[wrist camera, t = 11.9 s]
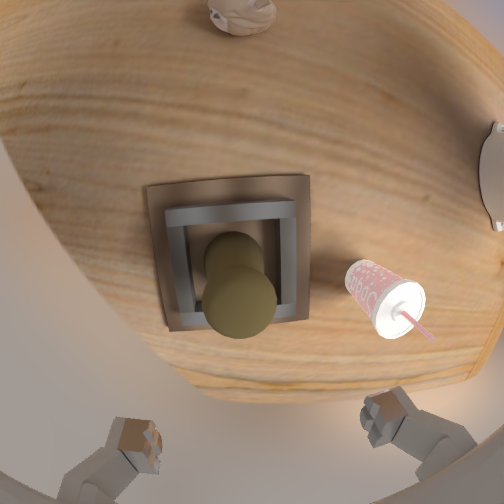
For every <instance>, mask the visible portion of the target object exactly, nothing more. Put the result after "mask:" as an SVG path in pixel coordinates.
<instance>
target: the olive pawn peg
mask: <svg viewBox="0 0 504 504" xmlns="http://www.w3.org/2000/svg"><path fill="white" fill-rule="evenodd" d="M204 268H205V272H206V277H207V281H208V283H207V284H206V286H205V289H204V292H203V295H202V310H203V313H204V315H205V318H206V320H207V322H208V323H209V325H210V326H211V327H212V328H213V329H214V330H215V331H217V332H219V333H220V334H222V335H224V336H227V337H230V338H234V339H245V338H248V337H252V336H255V335H257V334H258V333H260V332H262V331H263V330H264V329H265V328H266V327H267V326H268V325H269V324H270V323H271V322H272V320H273V317H274V315H275V313H276V305H277V297H276V293H275V289H274V287H273V285H272V283H271V282H270V281H269V279H268V278H267V276H265V275H264V261H263V254H262V250H261V247H260V246H259V244H258V243H257V241H256V240H255V239H253V238H252V237H251V236H249V235H248V234H245V233H242V232H235V231H229V232H226V233H222V234H220V235H218V236H217V237H215V238H214V239H212V241H211V242H210V243H209V245H208V246H207V248H206V251H205V254H204Z"/></svg>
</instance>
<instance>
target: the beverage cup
mask: <svg viewBox="0 0 504 504" xmlns="http://www.w3.org/2000/svg"><path fill="white" fill-rule="evenodd" d="M345 286H346V288H347V290H348V291H349V293H350V294H351V295H352V296H353V298H354V299H355V300H356V301H357V303H358V304H359V305H360V306H361V308H362V309H363V310H364V311H365V313H366V314H367V315H368V317H369V318H370V319H371V320H372V323H373V325H374V327H375V330H376V331H377V332H378V334H379V335H381V336H383V337H384V338H386V339H395V338H397V337H400V336H402V335H404V334H406V333H407V332H408V331H409V330H411V329H412V328H413V327H414V326H415V327H416V328H417V329H418V330H419V331H420V332H421V333H423V334H424V335H425V336H426V337H427V338H428V339H429V340H430V341H433V340H434V338H435V337H434V336H433V335H432V334H431V333H430V332H429V331H427V330H426V329H425V328H424V327H423V326H422V325H421V324H419V323H418V320H419V319H420V317H421V315H422V312H423V310H424V307H425V299H426V297H425V293H424V289H423V288H422V287H421V286H420V285H419V284H418V283H417V282H414V281H413V280H408V279H404V278H402V277H400V276H399V275H397V274H395V273H393V272H391V271H389V270H387V269H385V268H384V267H382V266H380V265H378V264H376V263H374V262H372V261H370V260H365V259H363V260H360V261H357V262H356V263H354V264H353V265H352V266H351V267H350V268H349V270H348V271H347V274H346V277H345Z"/></svg>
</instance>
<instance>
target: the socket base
mask: <svg viewBox="0 0 504 504" xmlns="http://www.w3.org/2000/svg"><path fill="white" fill-rule="evenodd" d="M146 189H147V200H148V209H149V218H150V226H151V234H152V241H153V248H154V254H155V261H156V267H157V273H158V278H159V284H160V289H161V294H162V299H163V304H164V309H165V314H166V319H167V323H168V328H169V332H173V331H193V330H209V329H213V328H212V327H211V326H210V325H209V323H208V322H207V320H206V318H205V315H204V313H203V310H202V295H203V292H204V289H205V286H206V284H207V283H208V281H207V277H206V272H205V268H204V254H205V251H206V248H207V246H208V245H209V243H210V242H211V241H212V239H214V238H215V237H217V236H218V235H220V234H222V233H226V232H229V231H235V232H242V233H245V234H248V235H249V236H251V237H252V238H253V239H255V240H256V241H257V243H258V244H259V246H260V247H261V250H262V254H263V261H264V275H265V276H267V278H268V279H269V281H270V282H271V283H272V285H273V287H274V289H275V293H276V297H277V305H276V313H275V315H274V317H273V320H272V322H271V323H270V324H274V323H283V322H291V321H298V320H306V319H309V298H310V259H311V208H310V175H293V176H264V177H245V178H229V179H216V180H204V181H193V182H184V183H174V184H166V185H157V186H150V187H146Z"/></svg>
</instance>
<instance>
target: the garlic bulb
mask: <svg viewBox="0 0 504 504" xmlns="http://www.w3.org/2000/svg"><path fill="white" fill-rule="evenodd" d="M207 6H208V8H209V9H210V18H211V20H212V21H213V23H214V24H215V25H216V26H217V27H218V28H219V29H221V30H222V31H225V32H228V33H230V34H232V35H237V36H247V35H250V34H259V33H262V32H264V31H265V30H267V29H268V28H269V27H270V26H271V25H272V23H273V22H274V21H275V20H276V13H277V9H276V6H275V5H274V3H273V2H272V1H271V0H208V2H207Z"/></svg>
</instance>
